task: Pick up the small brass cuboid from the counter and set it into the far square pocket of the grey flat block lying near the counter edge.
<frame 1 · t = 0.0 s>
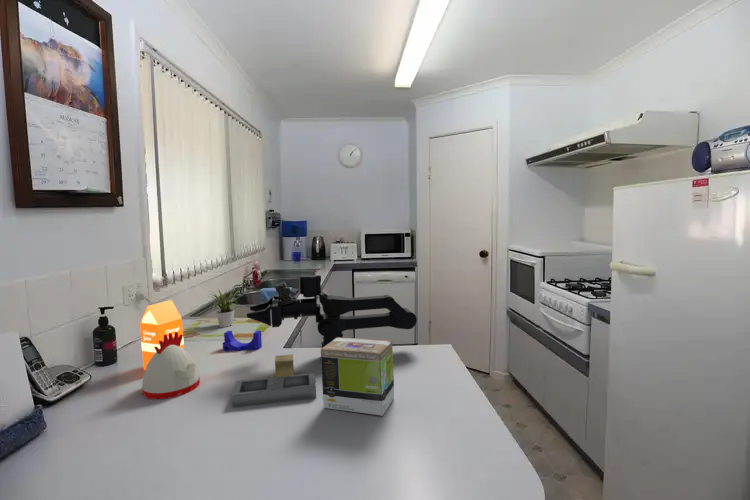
hand: (248, 311, 124), 17 cm above the worktop, tool horizontal, fingers open, 9 cm apart
tea box: (359, 404, 98), on the worktop
cable clip: (242, 350, 140), on the worktop
orange juice: (164, 366, 126), on the worktop
grey flat block: (276, 394, 103), on the worktop
house plant: (222, 326, 171), on the worktop
kitchen timer: (172, 388, 110), on the worktop
brass cuboid: (285, 374, 117), on the worktop
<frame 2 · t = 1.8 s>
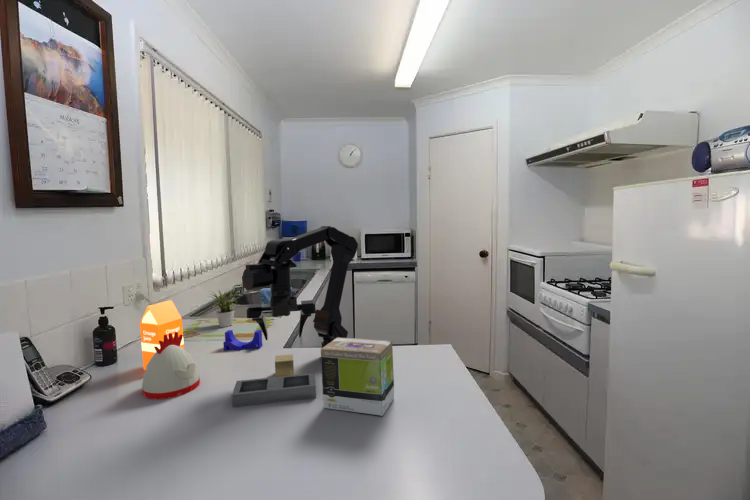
hand: (283, 338, 116), 11 cm above the worktop, tool pointing down, fingers open, 9 cm apart
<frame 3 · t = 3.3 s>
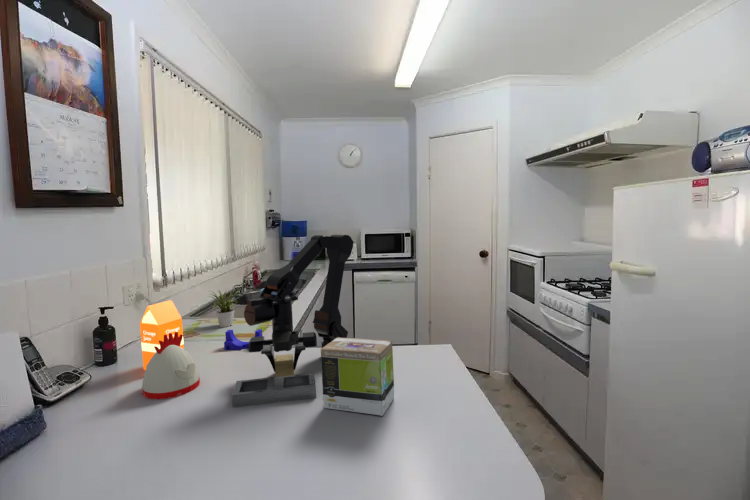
hand: (284, 370, 116), 1 cm above the worktop, tool pointing down, fingers closed on brass cuboid, 5 cm apart
brass cuboid: (285, 374, 117), on the worktop, touching gripper
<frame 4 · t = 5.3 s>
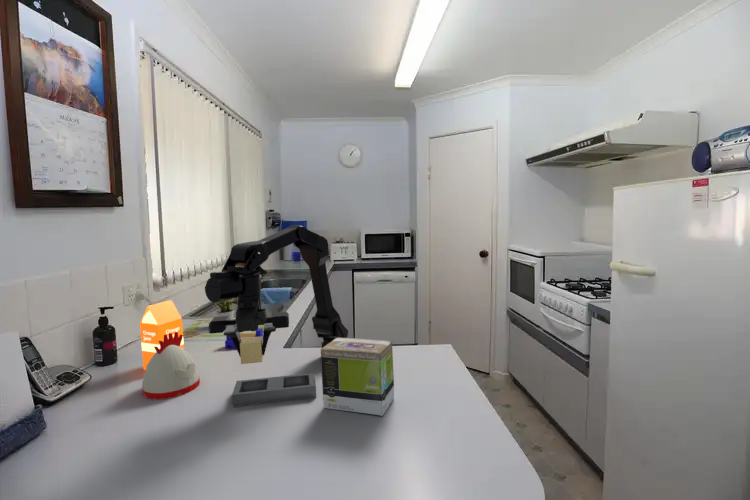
hand: (252, 355, 102), 11 cm above the worktop, tool pointing down, fingers closed on brass cuboid, 5 cm apart
brass cuboid: (252, 359, 102), point 10 cm above the worktop, touching gripper
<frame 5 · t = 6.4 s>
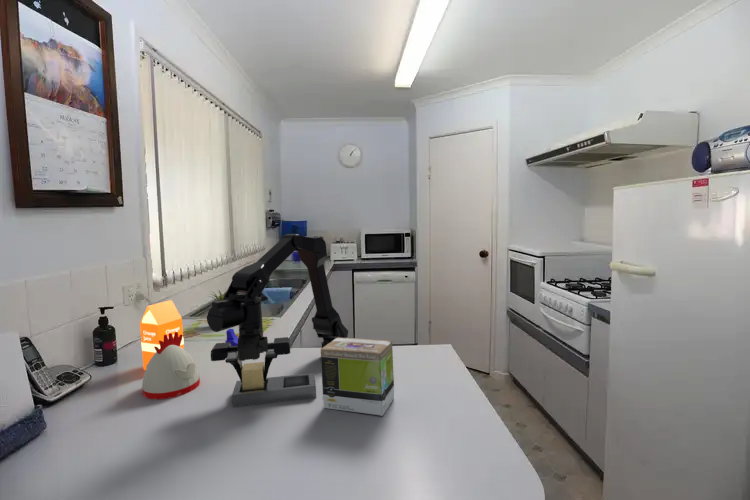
hand: (254, 381, 102), 4 cm above the worktop, tool pointing down, fingers closed on brass cuboid, 5 cm apart
brass cuboid: (254, 385, 102), point 3 cm above the worktop, touching gripper
when the fingers open (3 cm above the worktop, at t = 7.3 s): brass cuboid drops 3 cm, resting in grey flat block.
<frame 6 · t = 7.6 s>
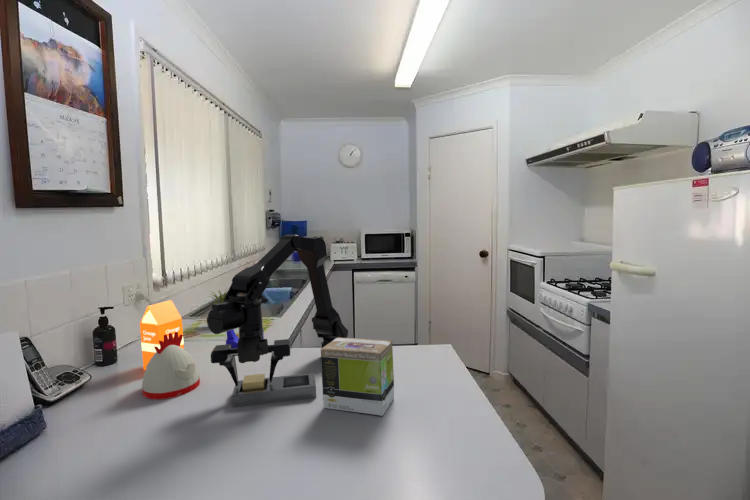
hand: (254, 383, 102), 3 cm above the worktop, tool pointing down, fingers open, 8 cm apart
brass cuboid: (254, 397, 103), resting in grey flat block
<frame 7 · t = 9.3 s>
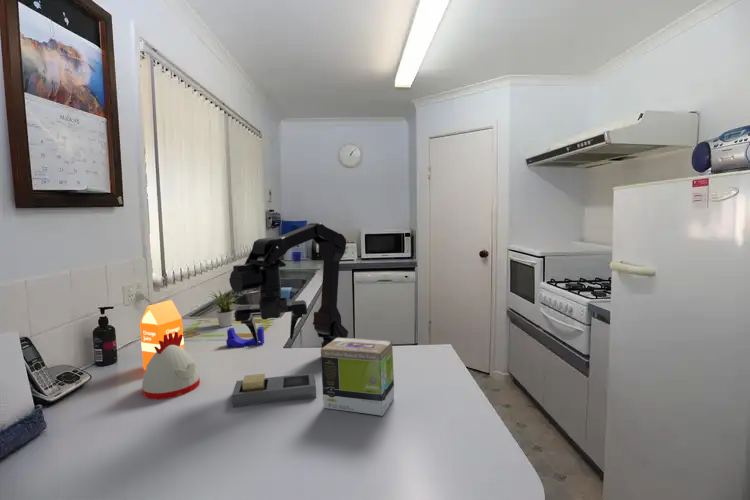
hand: (274, 340, 111), 11 cm above the worktop, tool pointing down, fingers open, 9 cm apart
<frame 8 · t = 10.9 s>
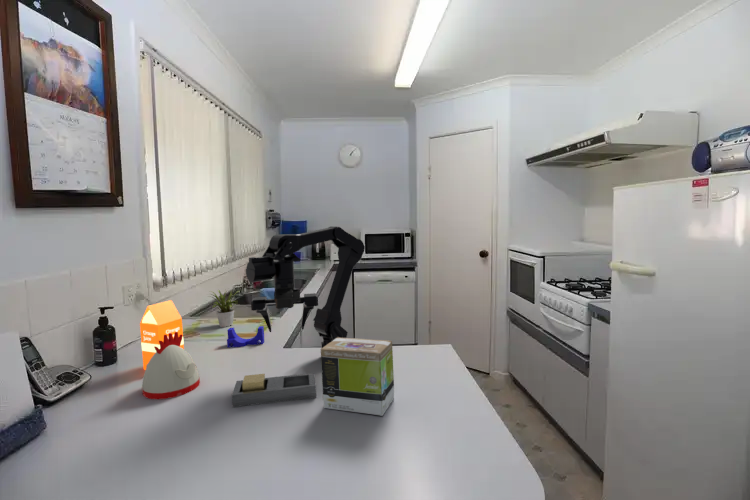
hand: (286, 330, 119), 12 cm above the worktop, tool pointing down, fingers open, 9 cm apart
at the end: brass cuboid 0.0 cm from the target spot on the grey flat block, point 0.0 cm above the grey flat block's base; the gripper is holding nothing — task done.
